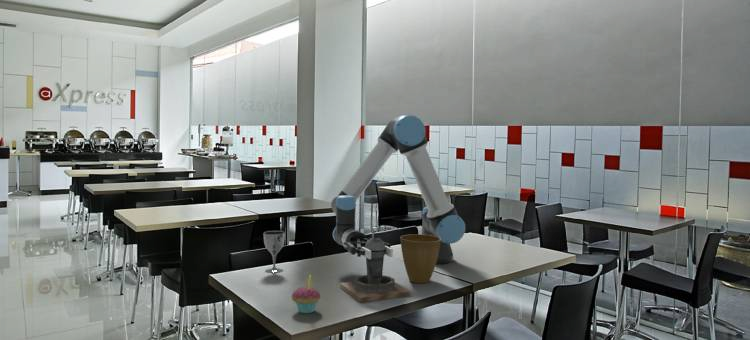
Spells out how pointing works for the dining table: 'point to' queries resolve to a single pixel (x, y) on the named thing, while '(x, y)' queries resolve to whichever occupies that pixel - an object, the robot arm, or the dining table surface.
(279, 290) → the dining table surface
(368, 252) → the robot arm
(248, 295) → the dining table surface
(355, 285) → the ring holder
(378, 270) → the beverage cup
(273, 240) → the wine glass
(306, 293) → the cupcake
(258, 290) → the dining table surface
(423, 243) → the plant pot
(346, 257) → the dining table surface
